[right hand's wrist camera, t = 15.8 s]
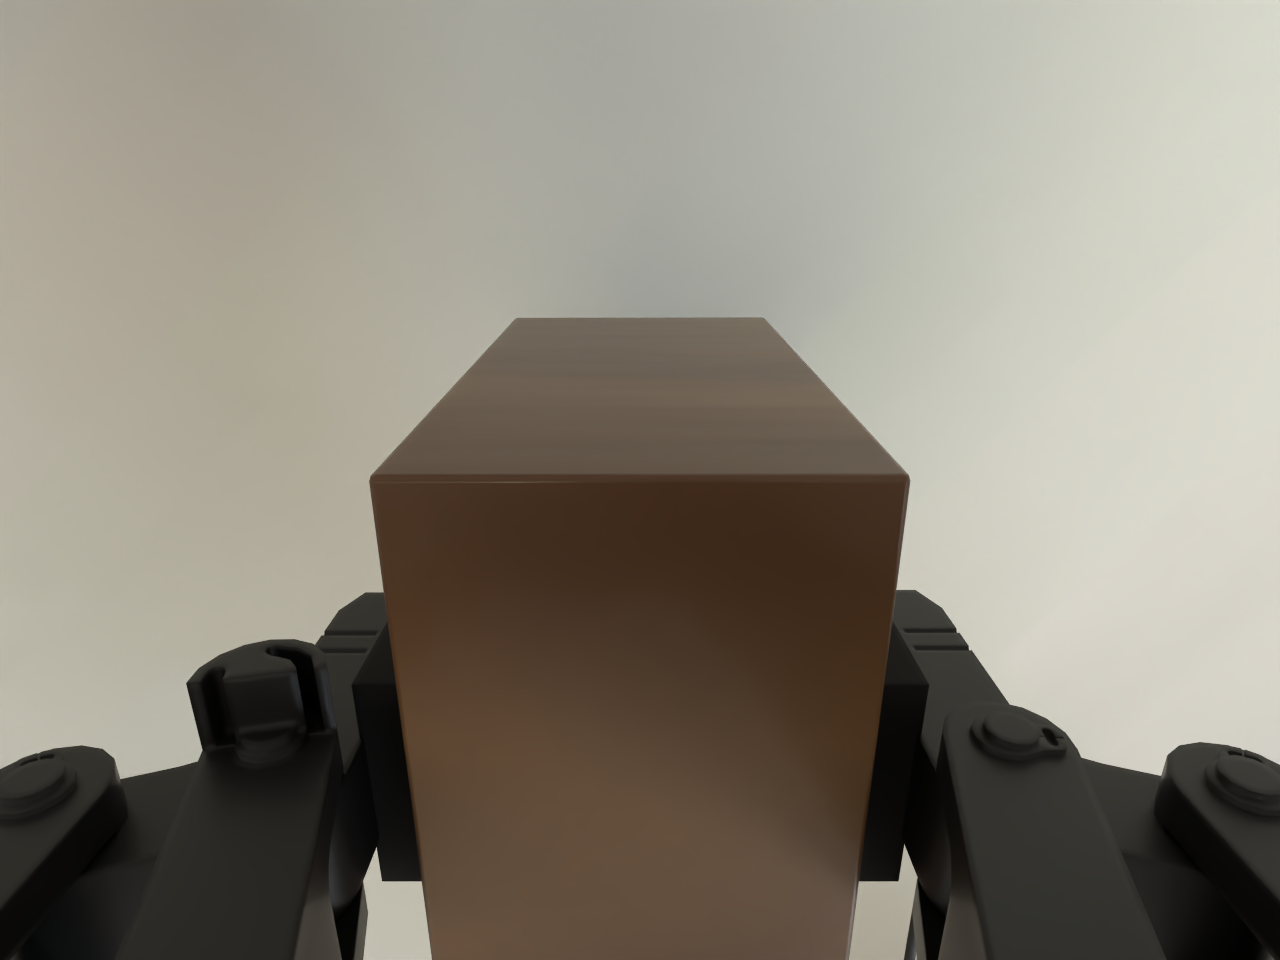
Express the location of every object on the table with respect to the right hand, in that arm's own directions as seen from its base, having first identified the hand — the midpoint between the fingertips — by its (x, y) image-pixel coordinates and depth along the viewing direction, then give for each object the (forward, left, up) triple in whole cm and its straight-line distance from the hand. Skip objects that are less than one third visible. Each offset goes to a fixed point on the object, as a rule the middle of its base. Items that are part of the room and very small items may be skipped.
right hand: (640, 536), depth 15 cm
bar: (+9, +3, -1) cm, 10 cm away
